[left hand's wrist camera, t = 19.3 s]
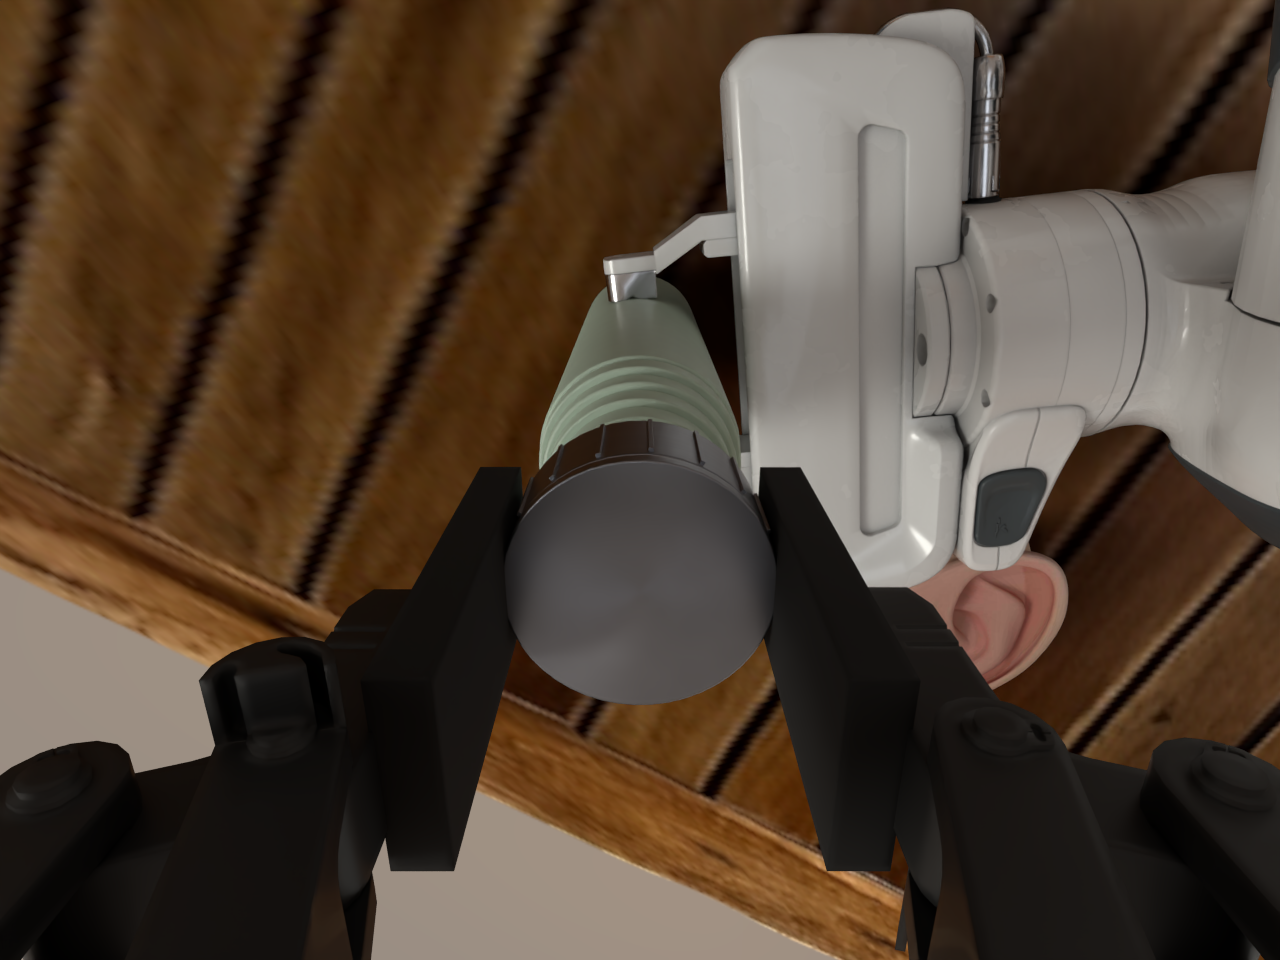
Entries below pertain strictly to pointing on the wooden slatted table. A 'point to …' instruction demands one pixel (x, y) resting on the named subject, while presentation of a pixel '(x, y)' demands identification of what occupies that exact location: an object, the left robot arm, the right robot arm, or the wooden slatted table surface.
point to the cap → (640, 565)
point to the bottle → (640, 374)
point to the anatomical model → (1001, 611)
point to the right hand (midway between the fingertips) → (616, 366)
